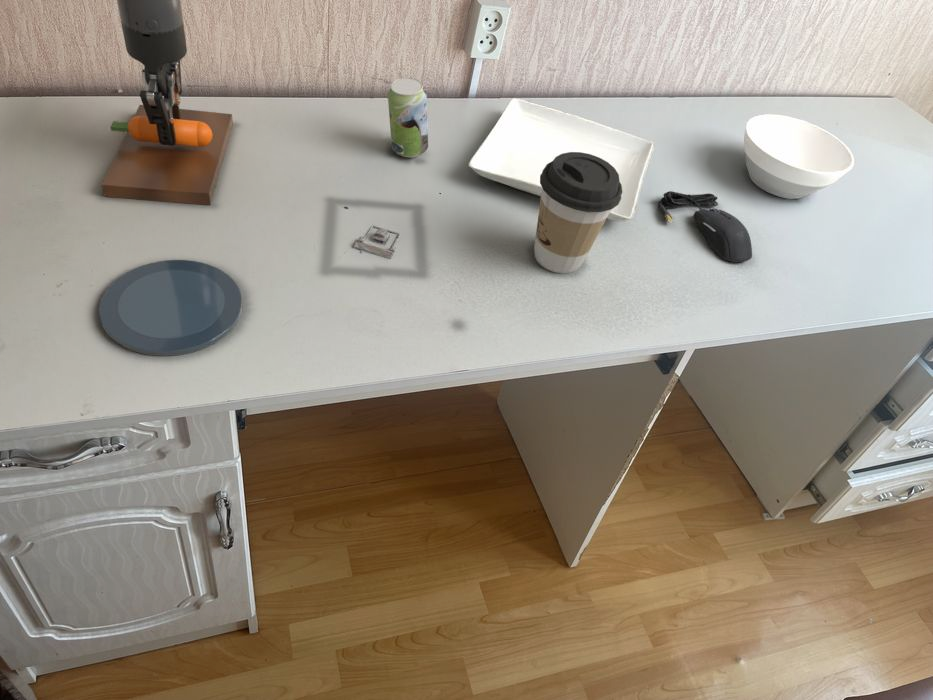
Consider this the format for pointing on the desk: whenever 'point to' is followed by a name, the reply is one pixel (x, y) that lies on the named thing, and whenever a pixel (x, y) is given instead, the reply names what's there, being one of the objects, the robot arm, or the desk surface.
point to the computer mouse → (713, 225)
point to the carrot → (184, 129)
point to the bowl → (793, 156)
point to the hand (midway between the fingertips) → (171, 135)
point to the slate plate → (170, 307)
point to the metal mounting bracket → (379, 237)
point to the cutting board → (170, 165)
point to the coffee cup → (573, 208)
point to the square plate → (559, 150)
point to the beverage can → (408, 117)
